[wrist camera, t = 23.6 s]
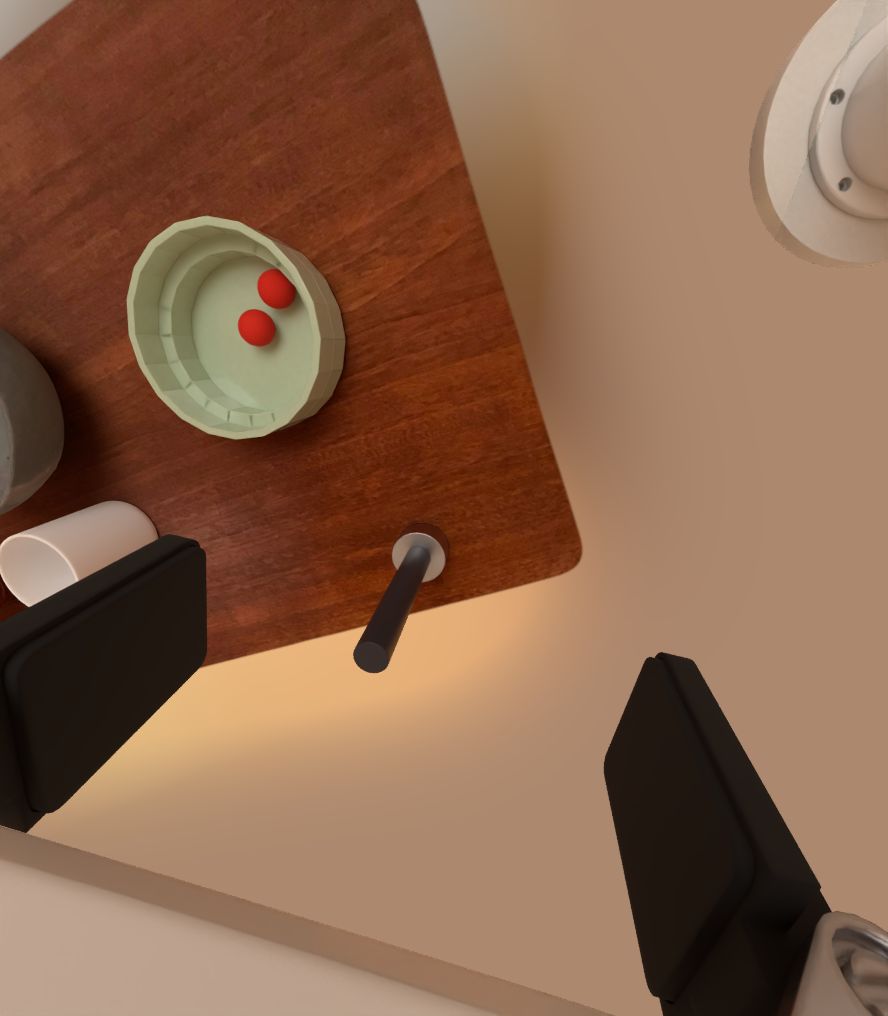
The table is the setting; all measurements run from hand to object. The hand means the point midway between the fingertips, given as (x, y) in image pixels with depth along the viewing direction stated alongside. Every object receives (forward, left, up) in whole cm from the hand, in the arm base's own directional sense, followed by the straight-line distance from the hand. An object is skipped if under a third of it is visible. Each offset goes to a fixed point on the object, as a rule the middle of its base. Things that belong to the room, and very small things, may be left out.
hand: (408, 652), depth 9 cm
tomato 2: (+20, -7, -31) cm, 38 cm away
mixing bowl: (+22, -3, -33) cm, 40 cm away
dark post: (+4, +14, -33) cm, 36 cm away
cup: (+36, +22, -34) cm, 54 cm away
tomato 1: (+21, -4, -31) cm, 38 cm away
